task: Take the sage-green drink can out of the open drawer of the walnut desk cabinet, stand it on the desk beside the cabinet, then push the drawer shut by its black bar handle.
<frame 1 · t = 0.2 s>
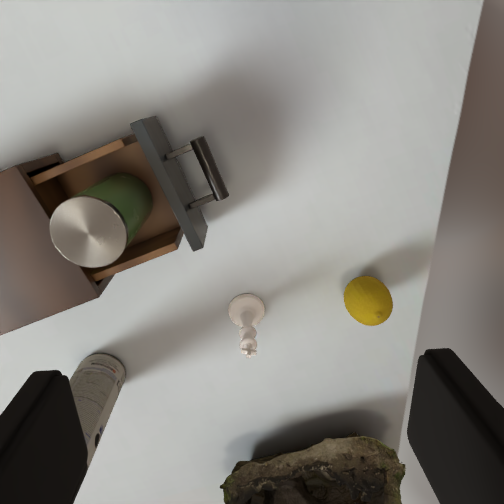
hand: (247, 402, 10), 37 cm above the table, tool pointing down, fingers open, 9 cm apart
chess piece: (246, 308, 51), on the table
spray can: (102, 369, 54), on the table
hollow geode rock: (300, 449, 62), on the table
drawer: (140, 196, 40), point 4 cm above the table, slide at 11.0 cm, touching tin can
cabinet: (38, 233, 46), on the table
lemon: (357, 284, 50), on the table
tin can: (125, 200, 43), point 2 cm above the table, touching drawer
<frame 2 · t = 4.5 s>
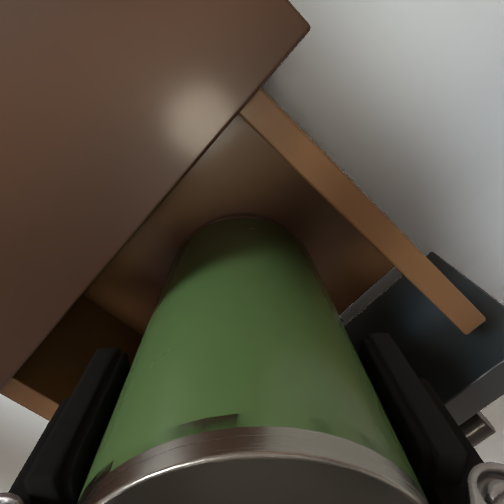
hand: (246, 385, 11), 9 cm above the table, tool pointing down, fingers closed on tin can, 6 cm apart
drawer: (289, 344, 15), point 4 cm above the table, slide at 11.0 cm, touching tin can
cabinet: (15, 75, 15), on the table
tin can: (242, 282, 17), point 2 cm above the table, touching drawer, gripper
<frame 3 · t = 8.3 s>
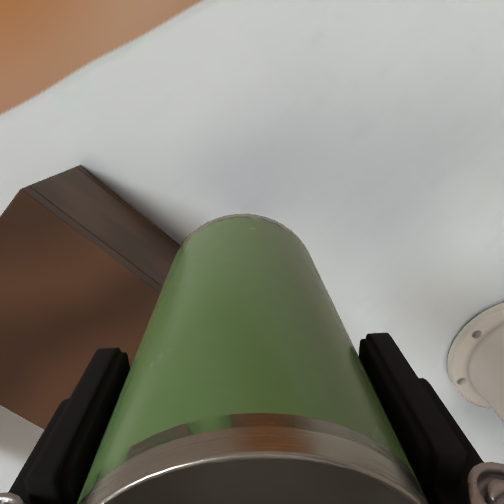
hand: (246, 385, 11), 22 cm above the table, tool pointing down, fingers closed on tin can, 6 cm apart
cabinet: (104, 284, 33), on the table
tin can: (242, 282, 17), point 15 cm above the table, touching gripper
when the fingers open (7 cm above the table, at t = 12.2 s): tin can stays where it is, on the table.
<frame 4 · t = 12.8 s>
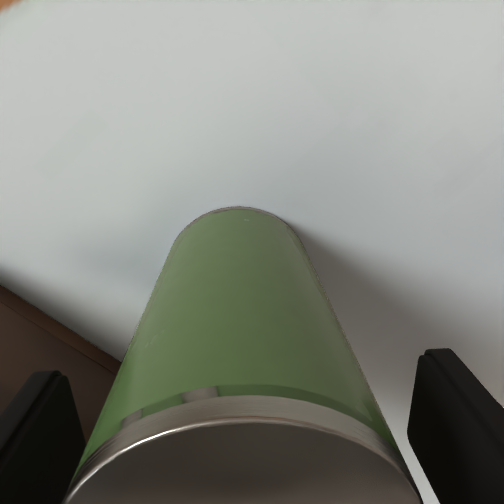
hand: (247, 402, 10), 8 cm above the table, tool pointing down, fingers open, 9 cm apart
cabinet: (6, 428, 20), on the table
tin can: (238, 274, 17), on the table
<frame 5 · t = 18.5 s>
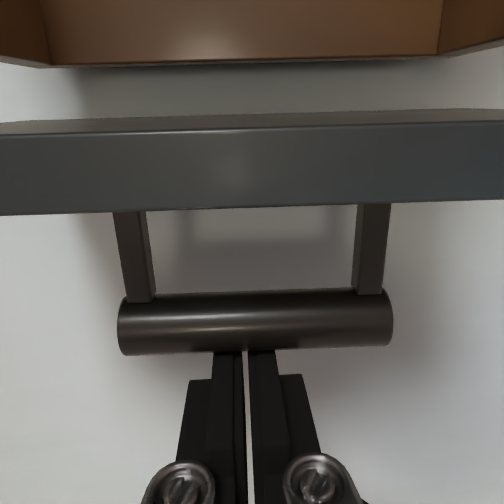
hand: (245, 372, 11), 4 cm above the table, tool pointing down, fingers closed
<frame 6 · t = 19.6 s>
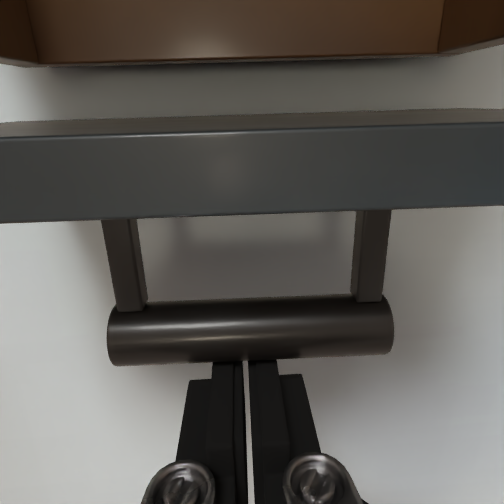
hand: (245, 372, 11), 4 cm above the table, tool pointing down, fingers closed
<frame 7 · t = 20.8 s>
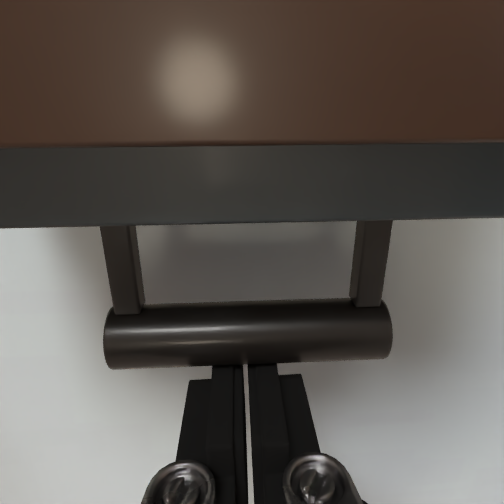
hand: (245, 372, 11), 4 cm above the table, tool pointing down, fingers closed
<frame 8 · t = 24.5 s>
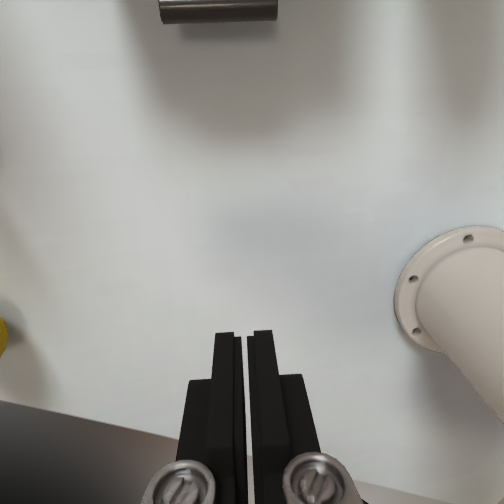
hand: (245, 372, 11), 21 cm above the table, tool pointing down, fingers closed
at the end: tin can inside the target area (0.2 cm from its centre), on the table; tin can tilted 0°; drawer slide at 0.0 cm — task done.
